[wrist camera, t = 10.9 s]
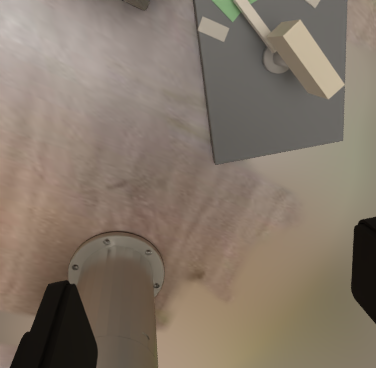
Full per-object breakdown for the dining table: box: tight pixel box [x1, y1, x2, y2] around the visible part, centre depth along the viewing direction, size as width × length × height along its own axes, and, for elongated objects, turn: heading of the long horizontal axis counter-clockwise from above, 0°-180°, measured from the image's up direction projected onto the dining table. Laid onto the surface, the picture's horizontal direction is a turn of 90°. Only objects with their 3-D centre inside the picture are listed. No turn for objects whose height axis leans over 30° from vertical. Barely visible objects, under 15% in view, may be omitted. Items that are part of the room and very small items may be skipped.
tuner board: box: [193, 0, 347, 165], centre depth 38 cm, size 22×16×1 cm
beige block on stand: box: [233, 0, 345, 99], centre depth 32 cm, size 11×3×9 cm, turn 43°
